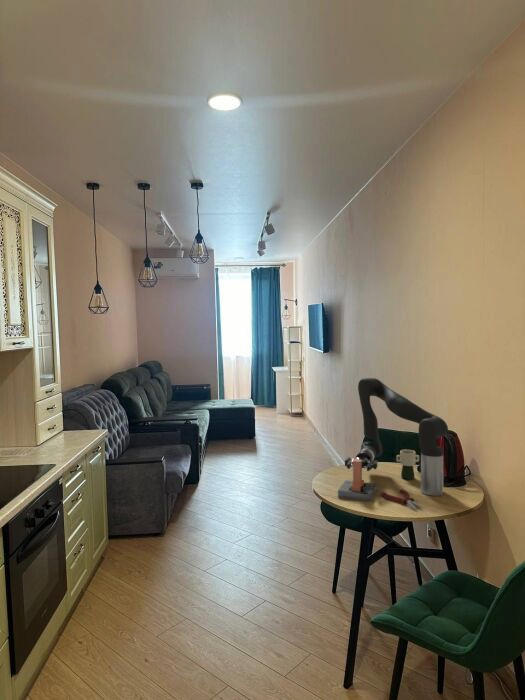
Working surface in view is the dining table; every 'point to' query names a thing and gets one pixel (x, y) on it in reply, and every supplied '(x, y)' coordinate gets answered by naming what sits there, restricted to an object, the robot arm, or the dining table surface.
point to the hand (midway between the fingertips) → (358, 467)
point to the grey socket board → (364, 495)
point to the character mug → (407, 463)
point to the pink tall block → (357, 476)
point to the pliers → (402, 499)
